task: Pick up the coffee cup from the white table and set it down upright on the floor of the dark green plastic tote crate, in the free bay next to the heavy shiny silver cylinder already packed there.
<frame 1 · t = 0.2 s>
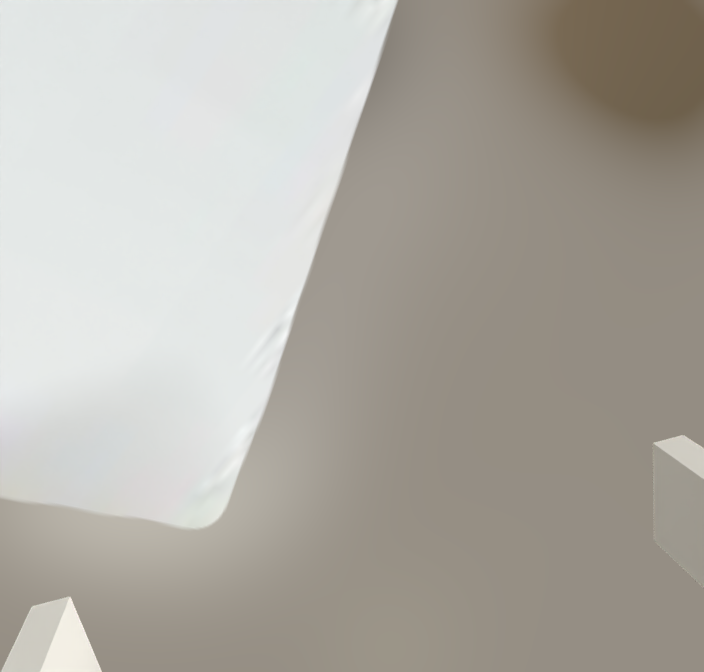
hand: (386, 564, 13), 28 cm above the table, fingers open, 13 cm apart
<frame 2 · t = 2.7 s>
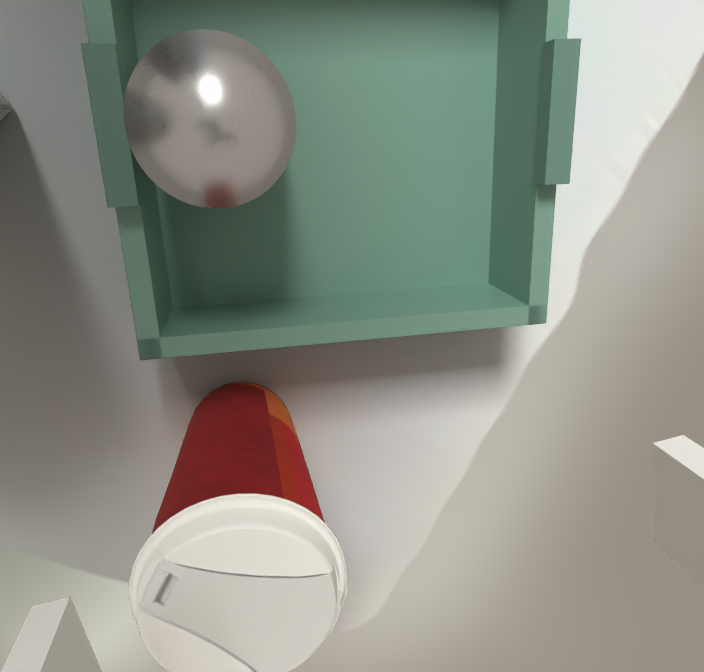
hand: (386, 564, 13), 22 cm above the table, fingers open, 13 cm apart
coffee cup: (242, 426, 36), on the table
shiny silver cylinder: (220, 129, 29), point 1 cm above the table, touching tote
tote: (327, 125, 31), on the table
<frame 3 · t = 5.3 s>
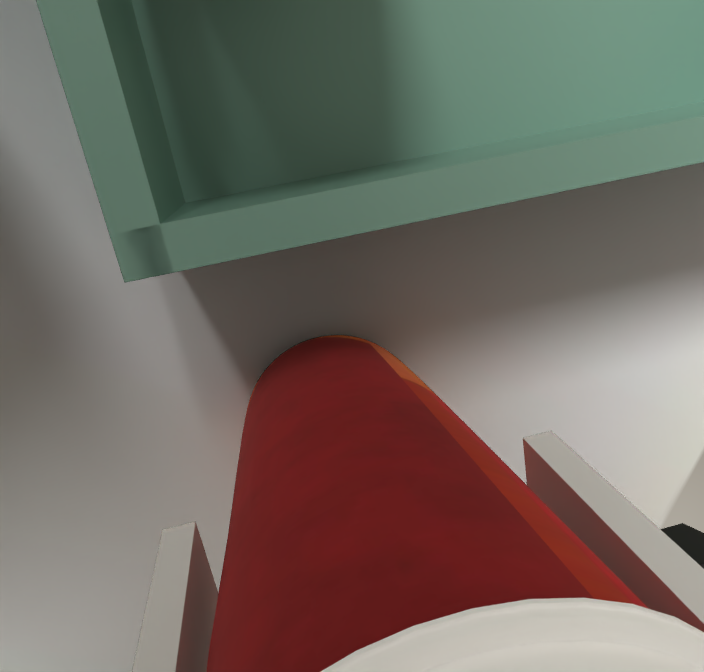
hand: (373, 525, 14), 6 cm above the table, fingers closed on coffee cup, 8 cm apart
coffee cup: (335, 414, 20), on the table, touching gripper
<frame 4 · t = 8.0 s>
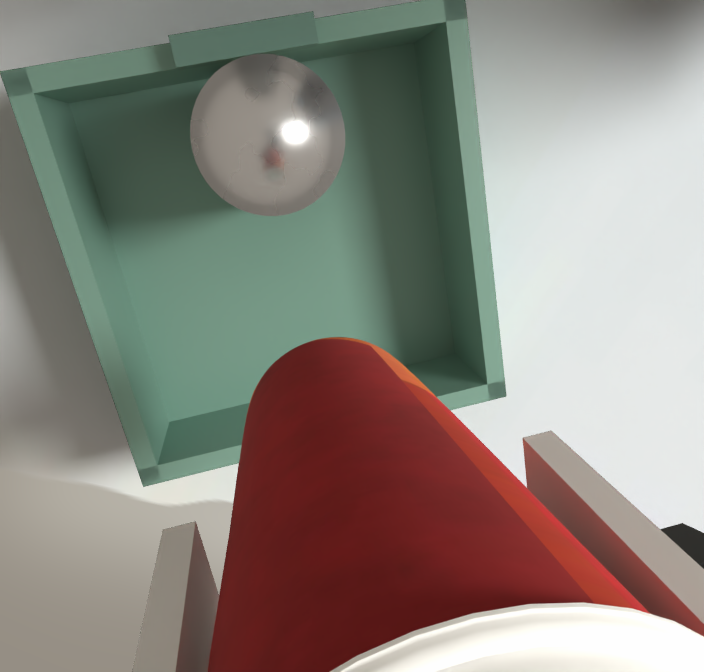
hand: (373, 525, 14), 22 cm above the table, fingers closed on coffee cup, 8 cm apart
coffee cup: (335, 415, 20), point 16 cm above the table, touching gripper
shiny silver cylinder: (262, 142, 31), point 1 cm above the table, touching tote
tote: (283, 241, 34), on the table
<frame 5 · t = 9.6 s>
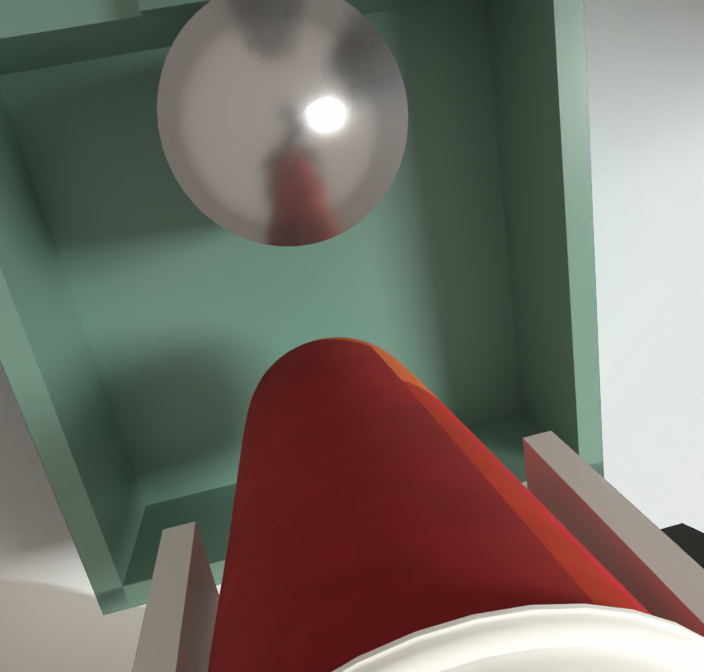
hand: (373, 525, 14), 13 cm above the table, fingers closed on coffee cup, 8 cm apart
coffee cup: (335, 416, 20), point 6 cm above the table, touching gripper
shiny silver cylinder: (272, 132, 23), point 1 cm above the table, touching tote
tote: (299, 267, 25), on the table
when the fingers open (8 cm above the table, at t = 10.9 s): coffee cup drops 1 cm, resting on tote.
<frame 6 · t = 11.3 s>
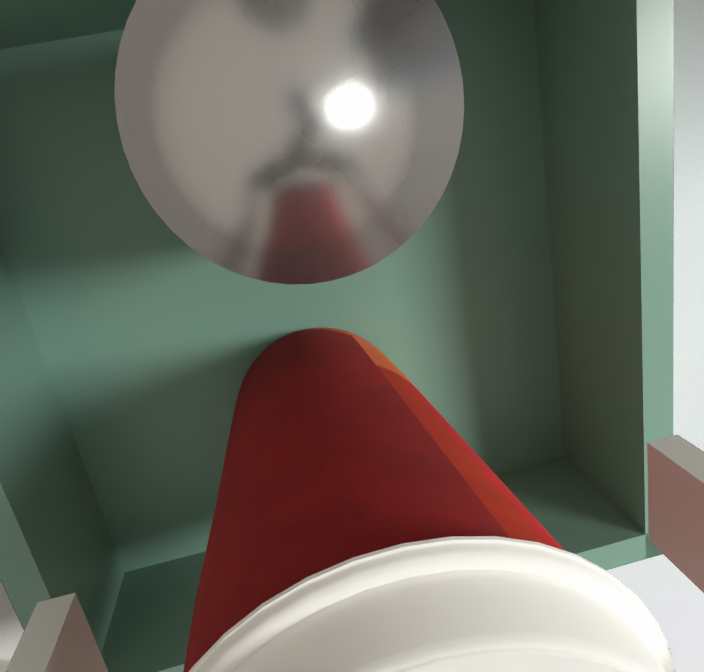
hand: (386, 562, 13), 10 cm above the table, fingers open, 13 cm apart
coffee cup: (320, 401, 22), point 1 cm above the table, touching tote
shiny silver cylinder: (274, 131, 19), point 1 cm above the table, touching tote
tote: (306, 291, 21), on the table
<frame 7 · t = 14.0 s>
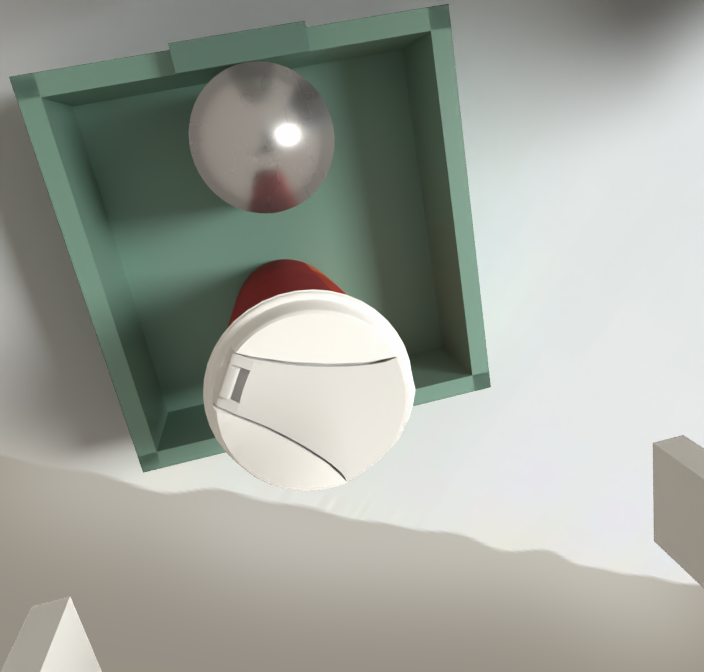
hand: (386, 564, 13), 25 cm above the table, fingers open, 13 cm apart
coffee cup: (287, 306, 36), point 1 cm above the table, touching tote
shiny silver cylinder: (257, 143, 33), point 1 cm above the table, touching tote
tote: (278, 238, 35), on the table
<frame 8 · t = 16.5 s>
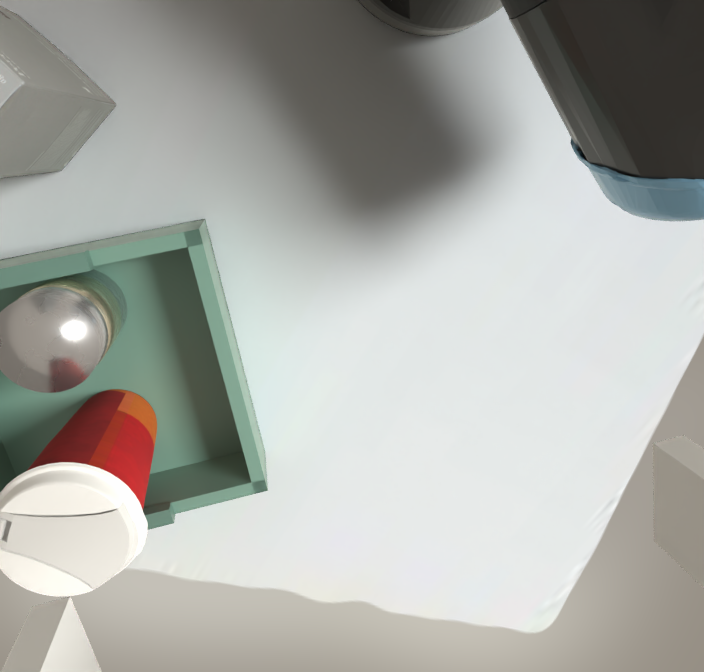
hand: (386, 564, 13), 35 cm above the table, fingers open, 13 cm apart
coffee cup: (119, 422, 46), point 1 cm above the table, touching tote
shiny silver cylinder: (84, 307, 43), point 1 cm above the table, touching tote
skincare box: (34, 97, 39), on the table
tote: (109, 372, 46), on the table
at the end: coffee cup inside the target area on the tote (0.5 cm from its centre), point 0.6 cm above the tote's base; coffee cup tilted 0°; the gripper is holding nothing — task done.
